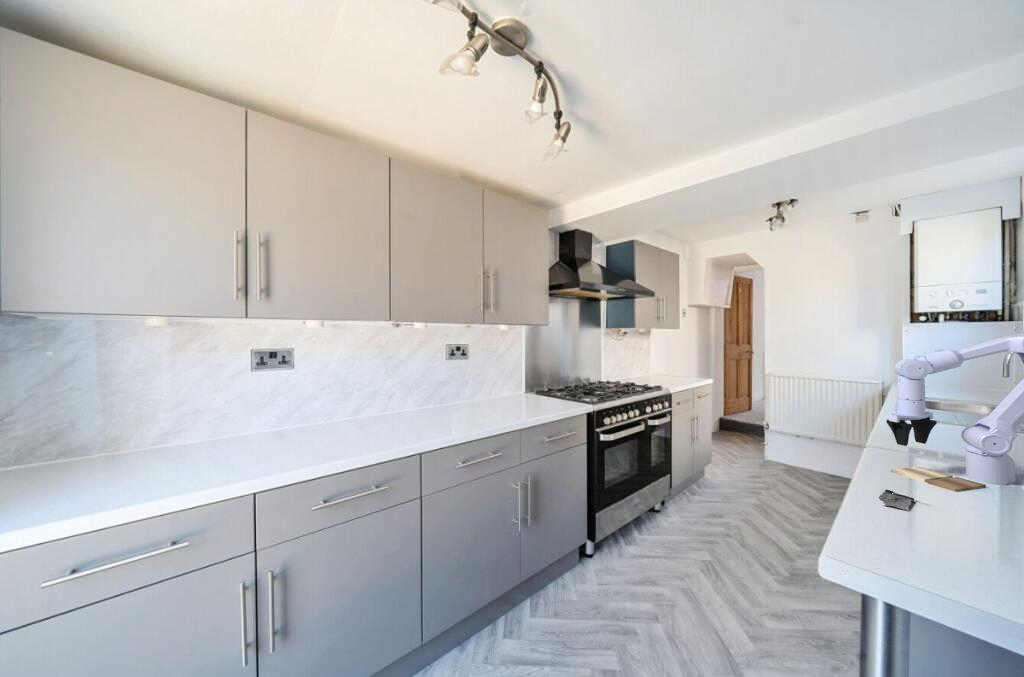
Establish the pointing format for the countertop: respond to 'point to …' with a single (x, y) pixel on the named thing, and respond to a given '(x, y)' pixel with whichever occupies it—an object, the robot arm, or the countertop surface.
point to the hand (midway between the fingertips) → (911, 443)
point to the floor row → (956, 484)
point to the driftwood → (896, 500)
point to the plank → (921, 474)
